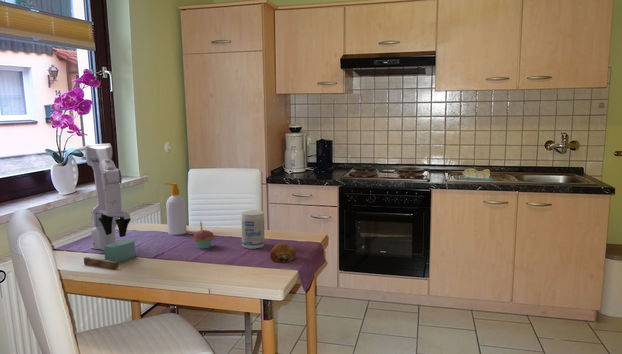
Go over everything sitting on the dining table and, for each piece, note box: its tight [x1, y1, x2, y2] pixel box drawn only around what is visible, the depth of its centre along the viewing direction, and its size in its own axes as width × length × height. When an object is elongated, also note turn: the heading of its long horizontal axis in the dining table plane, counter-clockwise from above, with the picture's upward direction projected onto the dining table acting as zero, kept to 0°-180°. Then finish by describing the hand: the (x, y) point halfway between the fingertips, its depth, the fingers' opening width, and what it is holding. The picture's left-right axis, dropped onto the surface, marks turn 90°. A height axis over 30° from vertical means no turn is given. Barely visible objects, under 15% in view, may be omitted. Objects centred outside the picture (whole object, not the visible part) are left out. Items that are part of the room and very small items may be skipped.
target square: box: [103, 256, 138, 266], centre depth 184 cm, size 10×10×1 cm
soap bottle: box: [164, 182, 188, 236], centre depth 221 cm, size 9×9×24 cm
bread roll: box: [269, 242, 296, 263], centre depth 183 cm, size 10×10×8 cm
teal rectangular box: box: [103, 239, 136, 262], centre depth 184 cm, size 6×10×6 cm, turn 153°
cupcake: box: [193, 220, 215, 249], centre depth 199 cm, size 9×8×12 cm
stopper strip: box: [83, 256, 119, 270], centre depth 176 cm, size 16×1×2 cm, turn 66°
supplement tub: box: [241, 209, 265, 250], centre depth 199 cm, size 10×10×15 cm
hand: (115, 235), depth 182 cm, fingers open, 7 cm apart
